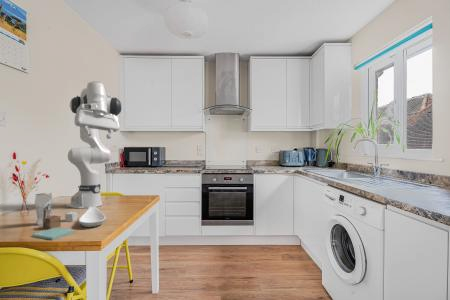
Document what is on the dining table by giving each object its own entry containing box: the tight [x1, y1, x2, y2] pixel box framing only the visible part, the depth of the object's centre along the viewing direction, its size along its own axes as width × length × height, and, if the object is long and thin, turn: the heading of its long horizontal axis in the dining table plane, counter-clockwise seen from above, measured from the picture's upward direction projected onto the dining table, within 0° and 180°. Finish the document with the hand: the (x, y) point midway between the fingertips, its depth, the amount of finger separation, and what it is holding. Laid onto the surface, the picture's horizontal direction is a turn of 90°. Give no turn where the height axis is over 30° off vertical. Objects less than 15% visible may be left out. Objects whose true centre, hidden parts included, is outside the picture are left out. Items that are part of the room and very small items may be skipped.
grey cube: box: [64, 211, 79, 223], centre depth 133 cm, size 4×4×4 cm
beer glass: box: [34, 192, 53, 226], centre depth 127 cm, size 7×7×15 cm
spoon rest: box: [78, 206, 107, 228], centre depth 129 cm, size 24×12×7 cm, turn 28°
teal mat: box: [32, 227, 75, 241], centre depth 111 cm, size 12×10×1 cm
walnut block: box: [42, 215, 62, 230], centre depth 121 cm, size 5×5×5 cm
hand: (99, 136), depth 121 cm, fingers open, 8 cm apart
